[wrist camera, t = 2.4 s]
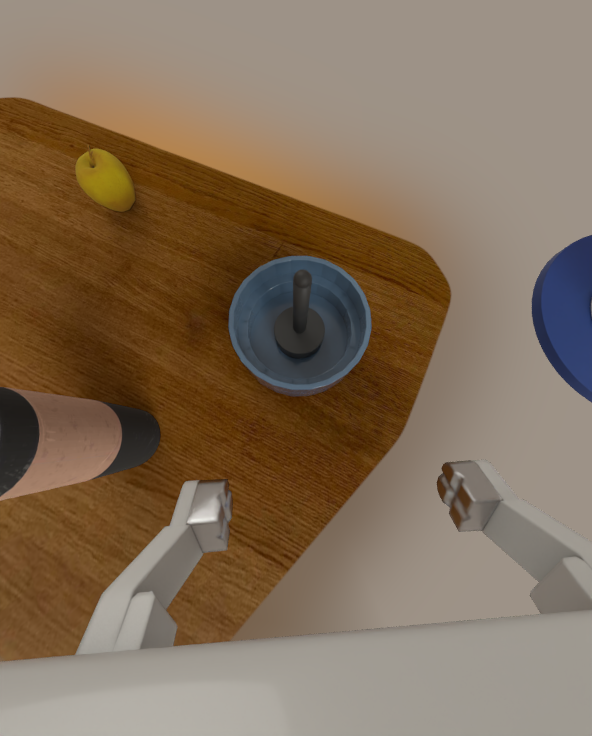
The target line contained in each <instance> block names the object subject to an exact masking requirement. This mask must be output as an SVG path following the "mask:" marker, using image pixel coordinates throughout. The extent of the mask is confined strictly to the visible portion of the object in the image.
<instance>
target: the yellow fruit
mask: <svg viewBox="0 0 592 736" xmlns="http://www.w3.org/2000/svg"><path fill="white" fill-rule="evenodd" d="M87 147H88V152H86V153H85V154H83V155H82V156H80V157H79V159H78V160H77V163H76V167H75V169H76V177H77V181H78V183H79V185H80V186H81V188H82V189H83V190H84V192H85V193H86V194H87V195H88V196H89V197H90V198H91V199H93V200H94V201H95V202H97V203H98V204H100V205H102V206H104V207H106V208H108V209H111V210H114V211H118V212H124V211H127V210H129V209H131V207H132V205H133V204H134V202H135V199H136V196H135V189H134V184H133V181H132V179H131V177H130V175H129V173H128V172H127V170H126V168H125V167H124V165H123V164H122V163H121V162H120V161H119V160H118V159H117V158H116V157H115V156H113V155H112V154H110V153H109V152H107V151H105V150H100V149H91V150H90V146H88V144H87Z"/></svg>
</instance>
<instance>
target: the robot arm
mask: <svg viewBox="0 0 592 736" xmlns="http://www.w3.org/2000/svg"><path fill="white" fill-rule="evenodd" d="M591 315H592V300H591ZM442 471H443V474H441V475H440V476H439V477H438V481H437V489H438V492H439V495H440V497H441V499H442V501H443V503H445V504H446V505H447V506H449V507H450V511H449V514H450V516H451V518H452V520H453V522H454V524H455V525H456V527H457V529H458V531H459V532H463V531H483V533H484V534H485V535H486V536H487V537H489V538H490V539H491V540H492V541H493V542H494V543H495V544H496V545H498V546H499V547H500V548H501V549H502V550H503V551H504V552H505V553H507V554H508V555H509V556H510V557H511V558H512V559H513V560H515V561H516V562H517V563H518V564H519V565H520V566H522V568H524V569H525V570H526V571H527V572H528V573H529V574H530V575H531V576H533V577H534V578H535V579H536V580H537V581H538V582H539V583H538V584H537V585H536V586H535V587H534V589H533V590H532V591H531V593H530V597H531V598H532V600H533V602H534V603H535V605H536V606H537V608H538V610H539V611H540V613H541V614H536V615H524V616H513V617H501V618H491V619H479V620H467V621H456V622H445V623H434V624H423V625H410V626H399V627H388V628H377V629H366V630H354V631H342V632H331V633H320V634H308V635H298V636H285V637H274V638H263V639H251V640H240V641H229V642H217V643H206V644H194V645H183V646H173V644H174V639H175V635H176V630H177V625H176V623H175V621H174V620H173V618H172V617H171V616H170V614H169V613H168V612H167V611H166V609H167V608H168V606H169V605H170V603H171V602H172V600H173V599H174V597H175V596H176V594H177V593H178V591H179V590H180V588H181V587H182V585H183V584H184V582H185V581H186V579H187V578H188V576H189V575H190V573H191V572H192V570H193V569H194V567H195V566H196V564H197V563H198V561H199V560H200V558H201V557H202V555H203V553H205V552H214V551H223V550H227V547H228V540H229V533H230V529H229V526H228V522H229V521H230V520H231V518H232V511H233V498H232V493H231V491H229V490H228V489H229V482H228V479H216V480H196V481H185V483H184V484H183V486H182V489H181V492H180V495H179V498H178V501H177V505H176V508H175V511H174V514H173V517H172V520H171V523H170V526H166V527H164V528H163V530H162V531H161V532H160V533H159V534H158V535H157V536H156V537H155V538H154V539H153V540H152V541H151V542H150V543H149V544H148V545H147V547H146V548H145V549H144V550H143V551H142V552H141V553H140V554H139V555H138V556H137V557H136V558H135V559H134V560H133V561H132V563H131V564H130V565H129V566H128V567H127V568H126V569H125V570H124V571H123V572H122V573H121V574H120V575H119V576H118V577H117V578H116V580H115V581H114V582H113V583H112V584H111V585H110V586H109V587H108V588H107V589H106V590H105V591H104V592H103V593H102V595H101V597H100V600H99V602H98V604H97V606H96V609H95V611H94V613H93V616H92V618H91V620H90V622H89V625H88V627H87V629H86V631H85V634H84V636H83V638H82V641H81V643H80V645H79V647H78V650H77V652H76V654H75V655H69V656H58V657H47V658H36V659H24V660H13V661H2V662H0V736H592V542H591V541H590V540H588V539H587V538H585V537H584V536H582V535H580V534H579V533H577V532H575V531H574V530H572V529H571V528H569V527H567V526H566V525H564V524H563V523H561V522H559V521H558V520H556V519H555V518H553V517H551V516H550V515H548V514H546V513H545V512H543V511H542V510H540V509H539V508H537V507H535V506H534V505H532V504H530V503H529V502H527V501H526V500H524V499H519V498H518V497H517V496H516V495H515V493H514V492H513V491H512V489H511V488H510V487H509V486H508V484H507V483H506V482H505V481H504V479H503V478H502V477H501V476H500V474H499V473H498V472H497V470H496V469H495V468H494V467H493V465H492V464H491V463H490V462H489V461H487V460H475V461H470V460H469V461H458V462H447V463H445V464H443V466H442Z"/></svg>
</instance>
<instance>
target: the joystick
mask: <svg viewBox="0 0 592 736" xmlns="http://www.w3.org/2000/svg"><path fill="white" fill-rule="evenodd" d="M311 285H312V276H311V274H310V273H309V272H308V271H307V270H299V271H297V272H296V273H295V274H294V277H293V307H290V308H288V309H286V310H284V311H283V312H282V313H281V314H280V315H279V316H278V317H277V319H276V321H275V325H274V335H275V340H276V343H277V346H278V347H279V349H280V350H281V351H282V352H283V353H284V354H286V355H287V356H289V357H292V358H298V359H301V358H306V357H309V356H311V355H313V354H314V353H315V352H317V350H318V349H319V348H320V346H321V344H322V341H323V338H324V334H325V326H324V322H323V320H322V318H321V317H320V315H319V314H318V313H317V312H316V311H314V310H313V309H311V308H309V301H310V293H311Z"/></svg>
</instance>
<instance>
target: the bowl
mask: <svg viewBox="0 0 592 736" xmlns="http://www.w3.org/2000/svg"><path fill="white" fill-rule="evenodd" d="M299 270H307V271H308V272H309V273H310V274H311V276H312V285H311V293H310V301H309V308H311V309H313V310H314V311H316V312H317V313H318V314H319V315H320V317H321V318H322V320H323V322H324V326H325V334H324V338H323V341H322V344H321V346H320V348H319V349H318V350H317V352H315V353H314V354H313V355H311V356H309V357H306V358H301V359H298V358H292V357H289V356H287V355H286V354H284V353H283V352H282V351H281V350H280V349H279V347H278V346H277V343H276V340H275V335H274V325H275V321H276V319H277V317H278V316H279V315H280V314H281V313H282V312H283V311H284V310H286V309H288V308H290V307H293V277H294V274H295V273H296V272H297V271H299ZM228 328H229V333H230V337H231V341H232V345H233V347H234V349H235V351H236V353H237V354H238V356H239V358H240V360H241V362H242V363H243V364H244V366H245V367H246V368H247V370H248V371H249V372H250V373H251V374H252V375H253V376H254V377H255V378H256V379H257V380H258V381H259V382H260V383H261V384H262V385H264V386H266V387H268V388H269V389H271V390H273V391H275V392H278V393H282V394H286V395H289V396H310V395H313V394H317V393H320V392H324V391H326V390H328V389H329V388H331V387H333V386H334V385H336V384H338V383H339V382H340V381H341V380H342V379H343V378H344V377H345V376H346V375H347V374H348V373H349V371H350V370H351V369H352V368H353V367H354V366H355V365H356V364H357V363H358V362H359V361H360V359H361V357H362V355H363V353H364V351H365V349H366V348H367V346H368V342H369V337H370V332H371V314H370V308H369V305H368V303H367V300H366V297H365V294H364V292H363V291H362V290H361V288H360V287H359V285H358V284H357V282H356V281H355V280H354V279H353V278H352V277H351V276H350V275H349V274H348V273H346V272H345V271H344V270H343V269H342V268H340V267H338V266H336V265H334V264H332V263H330V262H328V261H326V260H324V259H319V258H315V257H311V256H288V257H284V258H280V259H276V260H272V261H270V262H269V263H267V264H265V265H263V266H261V267H259V268H258V269H256V270H255V271H254V272H253V273H251V274H250V275H249V276H248V277H247V278H246V279H245V280H244V281H243V282H242V284H241V285H240V287H239V288H238V290H237V291H236V293H235V295H234V298H233V301H232V304H231V307H230V310H229V327H228Z"/></svg>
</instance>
